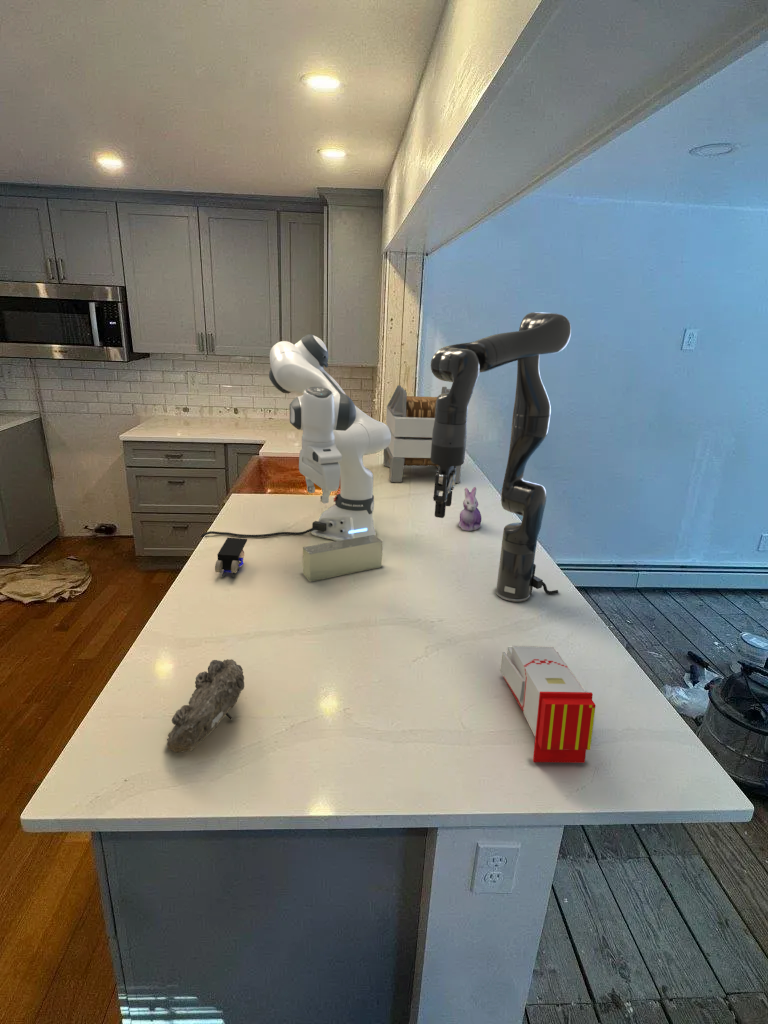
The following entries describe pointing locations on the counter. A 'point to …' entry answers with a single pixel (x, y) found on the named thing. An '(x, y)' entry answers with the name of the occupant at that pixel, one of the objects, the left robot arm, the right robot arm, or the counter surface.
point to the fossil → (206, 705)
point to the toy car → (230, 556)
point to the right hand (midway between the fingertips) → (443, 511)
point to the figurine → (470, 512)
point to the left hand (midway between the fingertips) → (317, 497)
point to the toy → (550, 702)
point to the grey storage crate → (410, 432)
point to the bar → (342, 557)
